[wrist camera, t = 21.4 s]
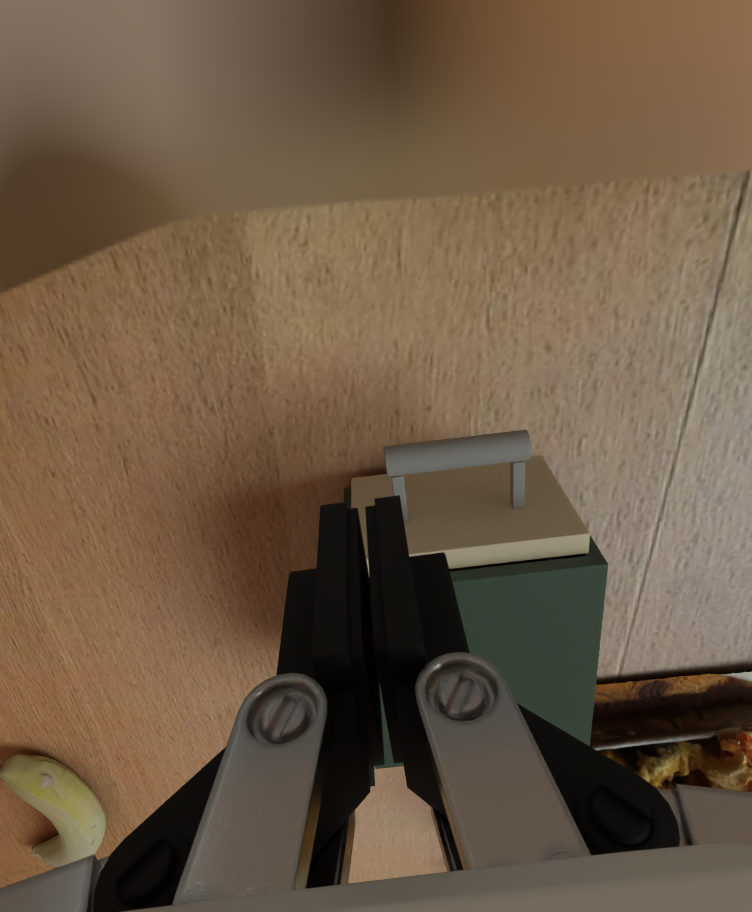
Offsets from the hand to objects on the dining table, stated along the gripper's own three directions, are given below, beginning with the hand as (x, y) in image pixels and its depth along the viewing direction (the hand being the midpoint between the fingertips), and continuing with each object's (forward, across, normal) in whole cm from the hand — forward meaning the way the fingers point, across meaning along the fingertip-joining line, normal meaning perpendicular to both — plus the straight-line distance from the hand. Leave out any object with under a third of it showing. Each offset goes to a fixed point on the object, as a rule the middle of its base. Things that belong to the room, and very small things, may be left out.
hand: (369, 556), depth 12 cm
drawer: (+19, -4, +14) cm, 24 cm away
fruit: (+20, +32, +39) cm, 54 cm away
